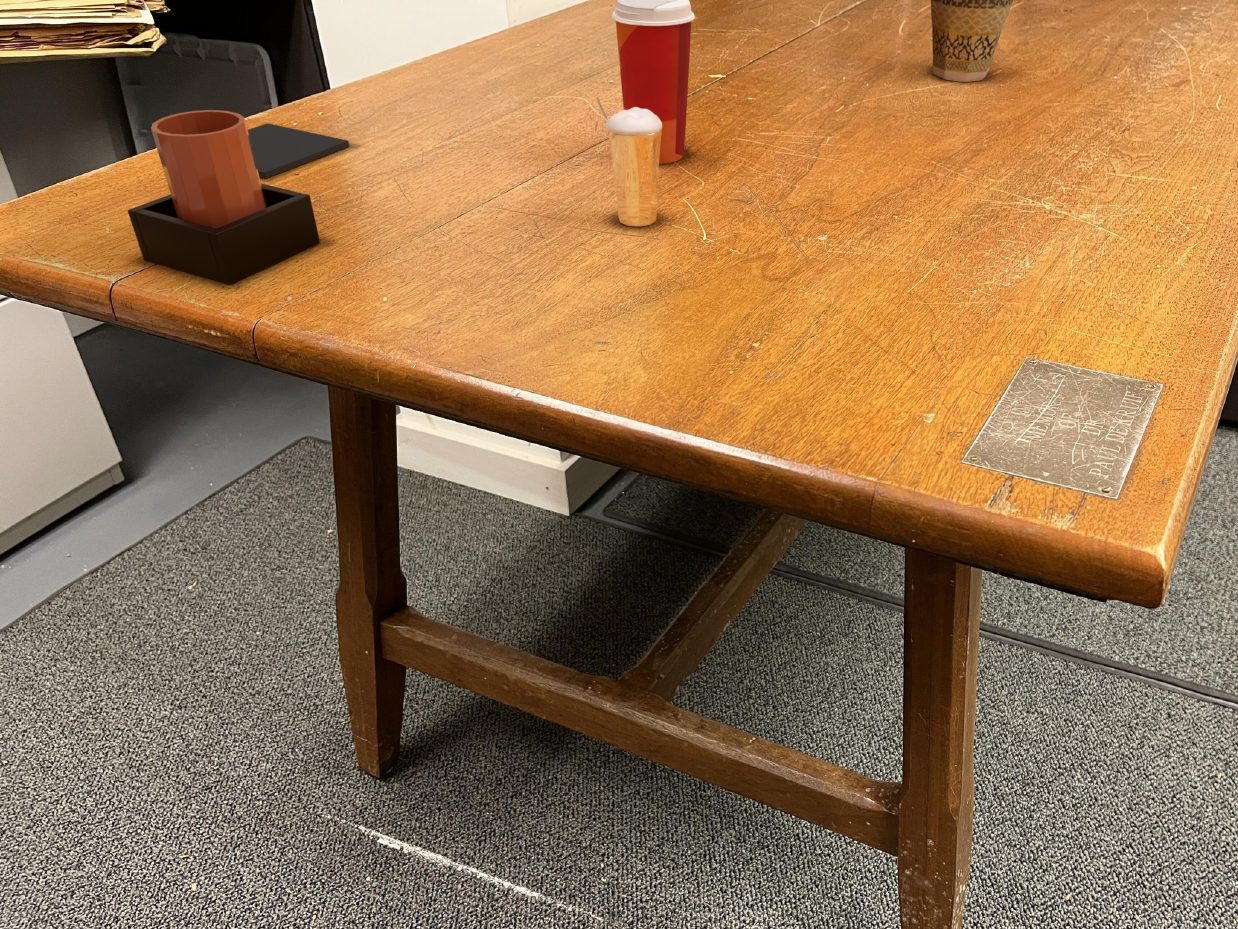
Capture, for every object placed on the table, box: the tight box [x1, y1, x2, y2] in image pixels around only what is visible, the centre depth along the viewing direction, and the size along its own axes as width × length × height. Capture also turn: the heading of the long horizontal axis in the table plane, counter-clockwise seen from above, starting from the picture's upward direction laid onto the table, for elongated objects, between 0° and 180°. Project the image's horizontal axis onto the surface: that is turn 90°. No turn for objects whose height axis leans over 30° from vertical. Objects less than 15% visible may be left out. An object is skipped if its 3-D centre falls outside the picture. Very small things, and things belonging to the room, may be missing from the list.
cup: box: [150, 109, 267, 229], centre depth 82 cm, size 6×6×10 cm
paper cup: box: [611, 0, 696, 165], centre depth 101 cm, size 8×8×14 cm
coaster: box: [248, 122, 350, 179], centre depth 104 cm, size 11×11×1 cm
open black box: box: [127, 182, 321, 286], centre depth 84 cm, size 9×9×4 cm
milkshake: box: [595, 96, 662, 228], centre depth 89 cm, size 5×5×10 cm
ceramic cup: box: [930, 0, 1014, 83], centre depth 131 cm, size 13×10×10 cm
